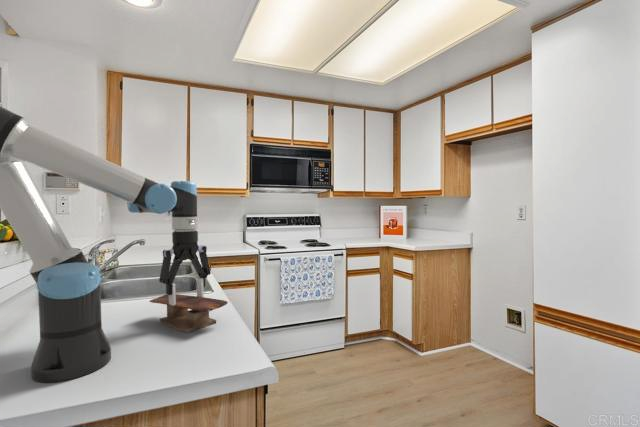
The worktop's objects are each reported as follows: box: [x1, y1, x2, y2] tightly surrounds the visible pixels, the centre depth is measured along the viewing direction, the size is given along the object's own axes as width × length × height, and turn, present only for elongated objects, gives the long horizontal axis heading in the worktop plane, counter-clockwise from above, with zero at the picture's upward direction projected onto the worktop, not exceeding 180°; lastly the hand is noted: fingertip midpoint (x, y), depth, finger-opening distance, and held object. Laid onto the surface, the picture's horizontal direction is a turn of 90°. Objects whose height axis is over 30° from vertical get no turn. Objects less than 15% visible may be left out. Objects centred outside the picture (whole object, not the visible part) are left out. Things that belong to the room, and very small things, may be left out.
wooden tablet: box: [149, 293, 228, 312], centre depth 107 cm, size 26×2×10 cm
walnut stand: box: [159, 305, 217, 334], centre depth 108 cm, size 10×16×5 cm, turn 52°
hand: (186, 301), depth 107 cm, fingers closed on wooden tablet, 9 cm apart
